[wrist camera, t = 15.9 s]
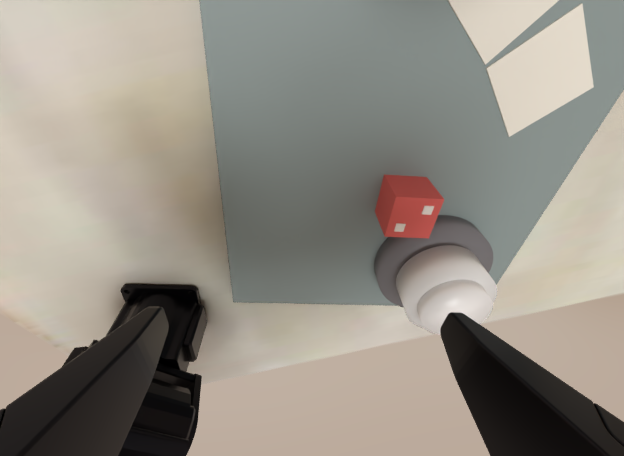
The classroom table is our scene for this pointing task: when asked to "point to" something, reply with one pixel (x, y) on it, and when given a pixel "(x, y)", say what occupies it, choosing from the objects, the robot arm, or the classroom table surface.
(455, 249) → the pop dome
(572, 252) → the classroom table surface
